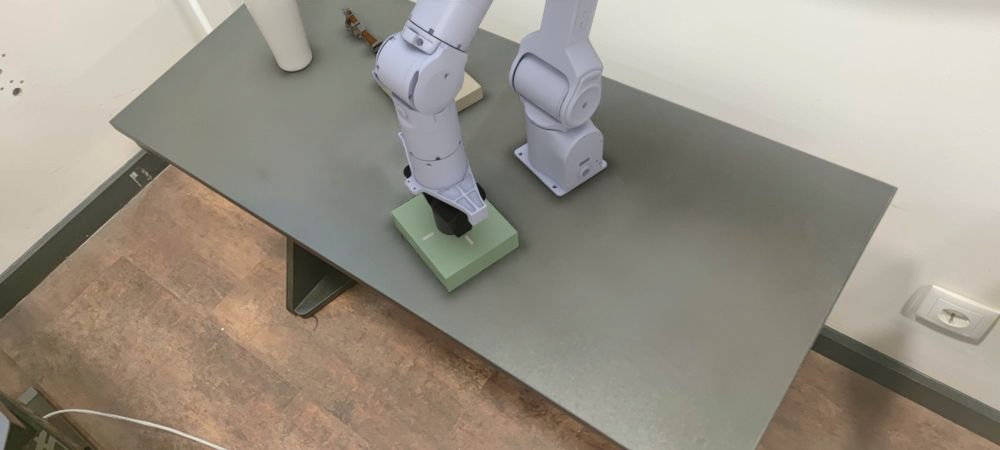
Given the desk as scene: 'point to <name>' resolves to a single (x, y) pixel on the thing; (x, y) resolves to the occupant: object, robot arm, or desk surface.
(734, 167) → the desk surface
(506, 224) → the dial panel
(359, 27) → the wooden post with brackets
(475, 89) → the push button base
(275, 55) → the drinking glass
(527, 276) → the desk surface
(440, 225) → the dial
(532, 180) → the desk surface
